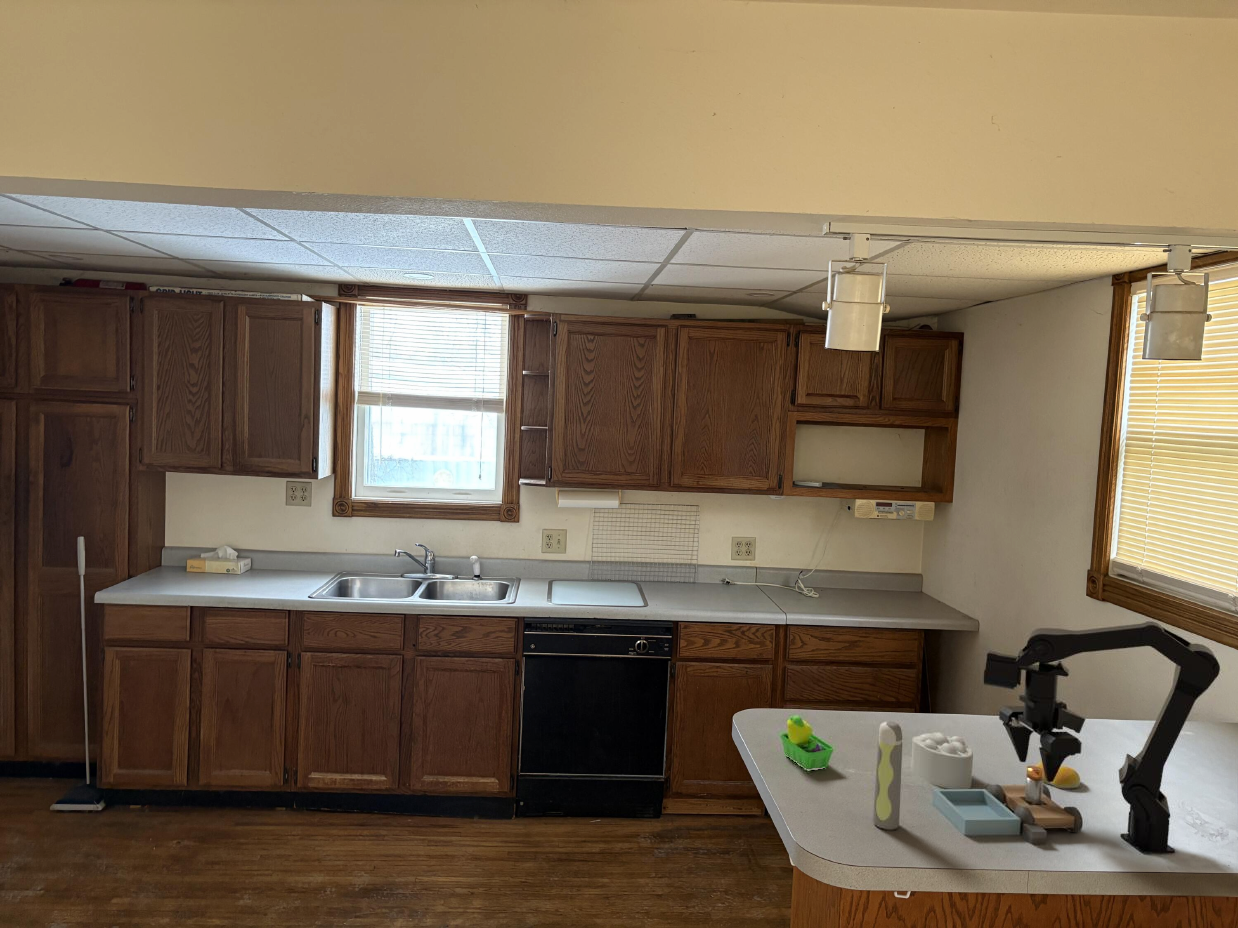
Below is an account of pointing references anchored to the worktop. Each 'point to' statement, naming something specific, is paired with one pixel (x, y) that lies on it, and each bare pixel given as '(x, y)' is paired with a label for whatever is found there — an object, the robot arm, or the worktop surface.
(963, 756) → the lumpy-topped squat cylinder
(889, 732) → the grey and yellow cylinder
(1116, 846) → the worktop surface
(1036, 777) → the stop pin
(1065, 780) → the bread roll
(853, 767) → the worktop surface
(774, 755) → the worktop surface
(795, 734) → the fruit basket
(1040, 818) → the dolly
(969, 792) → the tray
